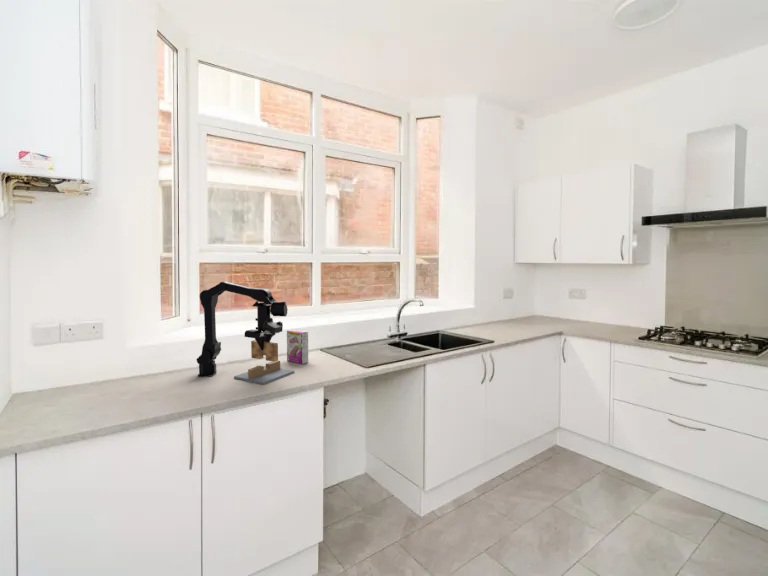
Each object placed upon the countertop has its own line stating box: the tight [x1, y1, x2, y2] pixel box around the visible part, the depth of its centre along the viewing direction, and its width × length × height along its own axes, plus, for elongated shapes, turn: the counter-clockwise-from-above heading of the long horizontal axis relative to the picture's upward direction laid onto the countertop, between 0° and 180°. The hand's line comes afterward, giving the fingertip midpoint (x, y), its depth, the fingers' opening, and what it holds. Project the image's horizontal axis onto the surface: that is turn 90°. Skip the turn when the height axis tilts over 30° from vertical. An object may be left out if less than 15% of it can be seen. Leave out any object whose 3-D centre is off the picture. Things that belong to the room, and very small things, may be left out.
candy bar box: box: [286, 329, 309, 365], centre depth 210 cm, size 11×5×16 cm, turn 58°
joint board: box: [233, 360, 295, 385], centre depth 186 cm, size 20×18×5 cm
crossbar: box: [250, 339, 279, 362], centre depth 186 cm, size 14×2×8 cm, turn 63°
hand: (264, 349), depth 186 cm, fingers closed on crossbar, 2 cm apart
